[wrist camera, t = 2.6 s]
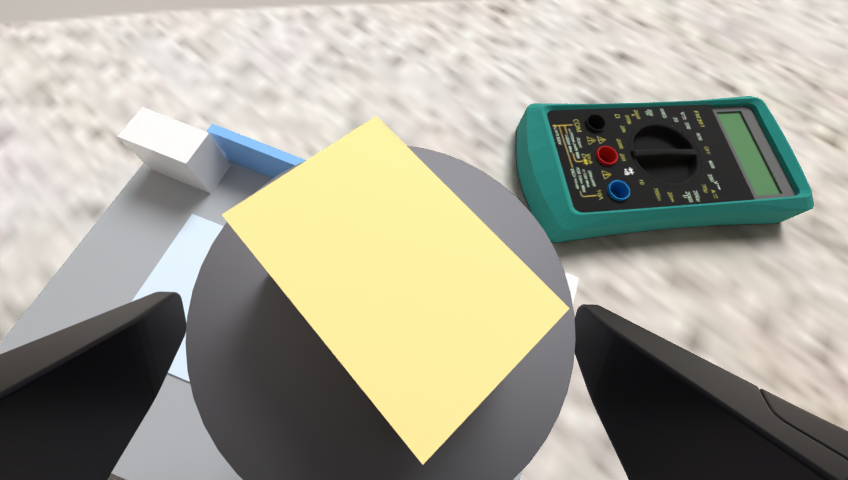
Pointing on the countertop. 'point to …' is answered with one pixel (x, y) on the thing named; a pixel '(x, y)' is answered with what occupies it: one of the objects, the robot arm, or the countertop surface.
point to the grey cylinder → (380, 322)
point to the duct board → (161, 270)
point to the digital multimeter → (656, 166)
